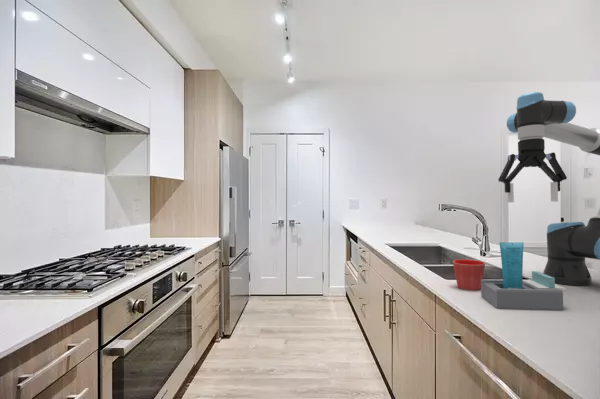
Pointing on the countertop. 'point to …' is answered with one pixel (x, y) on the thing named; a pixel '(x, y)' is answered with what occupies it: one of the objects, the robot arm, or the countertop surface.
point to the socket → (520, 297)
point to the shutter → (542, 282)
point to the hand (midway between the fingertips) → (532, 202)
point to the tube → (512, 264)
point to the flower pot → (469, 273)
